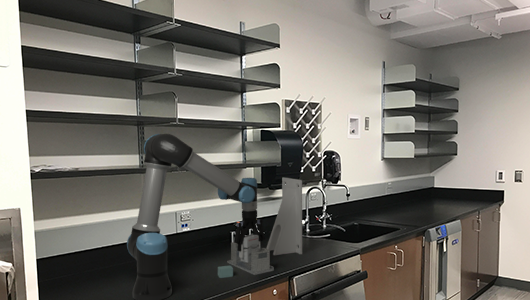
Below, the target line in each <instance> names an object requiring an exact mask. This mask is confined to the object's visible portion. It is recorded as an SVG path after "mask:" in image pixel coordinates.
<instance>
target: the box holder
mask: <svg viewBox="0 0 530 300" xmlns="http://www.w3.org/2000/svg"><path fill="white" fill-rule="evenodd" d="M266 248H267V247H260V248H259V249H254V250H251V262H248V263H247V262H243V261H241V258H240V257H239V251H238V244H236V243H234V241H233V242H230V259H229V260H226V261H227V263H226V264H229V265H231V266H232V267H236V268H237V269H241V270H242V271H244V272H247V273H249V274H251V275H254V276H256V275H261V274H265V273H270V272H273V271H275V269H274V268H275V267H274V266H272V265H270V263H271V262H270V261H271V260H270V258H271V257H270V255H271V253H270V252H271V251H270V250H269V249H266Z"/></svg>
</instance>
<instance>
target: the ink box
mask: <svg viewBox="0 0 530 300" xmlns="http://www.w3.org/2000/svg"><path fill="white" fill-rule="evenodd" d="M242 244H243V258H241V261H243V262H247V263H248V262H251V250H254V249H259V236H258V235H255V234H251V233H250V234H247V235H245V237H244V240H243V242H242Z"/></svg>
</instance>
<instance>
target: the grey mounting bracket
mask: <svg viewBox="0 0 530 300" xmlns="http://www.w3.org/2000/svg"><path fill="white" fill-rule="evenodd" d="M281 181H282V182H281V190H282V191H281V195H282V197H281V199H282V200H281V202H280V205H279V208H278V212H277V216H276V217H275V221H274V224H273V227H272V231H271V232H270V235H269V239H268V241H267V245H266V247H265V248H266V249H269V250H270V252H271V251H273V253H272V256H279V255H286V254H293V253H296V254H298V255H303V179H297V178H291V177H282V179H281Z"/></svg>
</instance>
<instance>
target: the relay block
mask: <svg viewBox="0 0 530 300" xmlns="http://www.w3.org/2000/svg"><path fill="white" fill-rule="evenodd" d="M233 267H234V266H233V265H231V264H229V265H224V266H217V276H218V278H220V279H223V278H224V279H225V278H232V277H234V268H233Z"/></svg>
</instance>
